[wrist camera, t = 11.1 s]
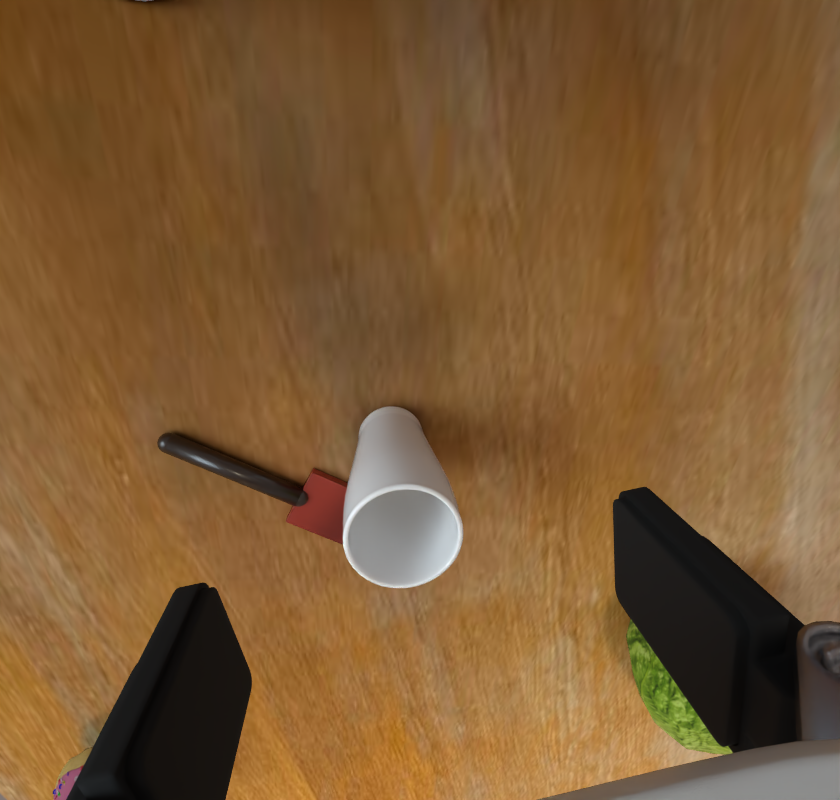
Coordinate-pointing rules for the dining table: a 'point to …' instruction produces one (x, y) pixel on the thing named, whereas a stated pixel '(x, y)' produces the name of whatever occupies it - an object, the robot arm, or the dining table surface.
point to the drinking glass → (399, 504)
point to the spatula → (273, 486)
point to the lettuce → (667, 698)
